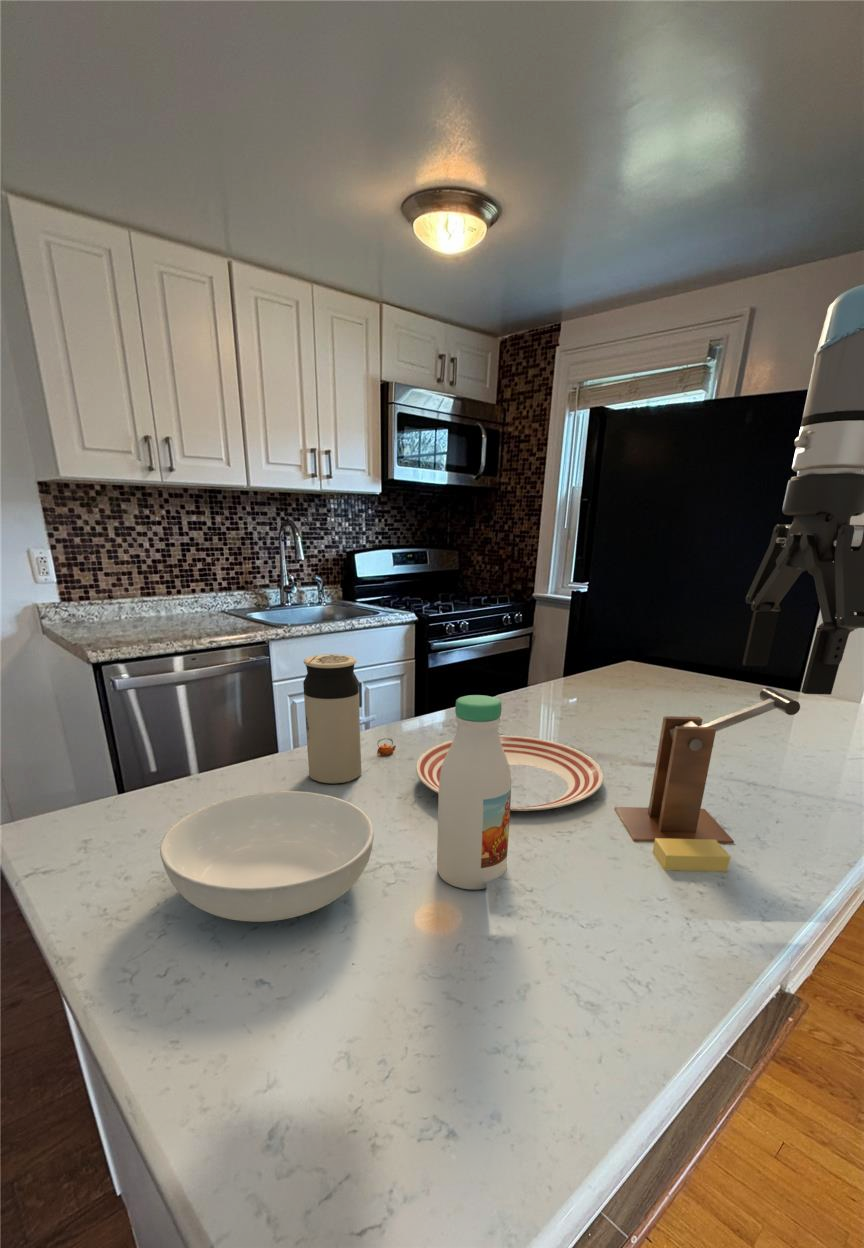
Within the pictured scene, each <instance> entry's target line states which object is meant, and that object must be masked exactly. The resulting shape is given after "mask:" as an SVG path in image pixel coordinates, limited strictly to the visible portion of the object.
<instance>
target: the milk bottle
mask: <svg viewBox="0 0 864 1248" xmlns="http://www.w3.org/2000/svg"><path fill="white" fill-rule="evenodd" d="M454 707H455V708H454V711H455V718H454V720H455V722H456V723H457V724H456V725H457V726H456V731H455V734H454V738H453V739H452V740H453V742H452V745H451V747H450V749H449V751H448V753H447V754H446V757H445V759H444V761H443V764H442V768H441V773H440V780H439V794H438V799H437V801H438V804H437V842H436V843H437V844H436V847H437V848H436V869H437V872H438V875H439V876H440V878H441V879H442V880H443V881H444V882H445V883H447V884H448V885H450V886H453V887H456V888H459V889H465V890H484V889H487V888H488V887H487V886H488V885H487V882H489V881H493V880H496V879H497V878H499V877H501V876H502V875H504V873H505V872H506V870H507V863H508V848H509V835H510V834H509V833H510V819H511V811H510V807H511V801H512V772H511V768H510V765H509V763H508V760H507V757H506V755H505V753H504V750H503V748H502V745H501V742H500V738H499V735H500V734H499V733H500V732H499V725H500V723H501V721H502V720H501V716H502V701H501V700H500V699H499V698H497V697H494V696H491V695H490V696H489V695H484V694H483V695H481V694H470V695H464V696H463V695H462V696H460V697H458V698H457V699H456V700H455V706H454Z"/></svg>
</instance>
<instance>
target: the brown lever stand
mask: <svg viewBox="0 0 864 1248" xmlns="http://www.w3.org/2000/svg"><path fill="white" fill-rule="evenodd" d="M691 721H692V722H693V723H695V724H696V725H697V726H701V725H703V718H701V717H700V716H672V715H671V716H670V715H669V716H668V715H664V716H663V717H662V723H661V730H660V736H659V742H658V748H657V756H656V761H655V767H654V771H653V773H654V774H653V779H652V785H651V792H650V798H649V803H648V804H649V805H648V807H641V806H640V807H637V806H614V808H613V809H614V811H615V813H616V815H617V816H618V818H619V819H620V822H622V824H623V826H624V828H625V830H626V831H627V833H628V835H629V836H630V838H631V840H632V841H633V842H641V843H643V842H645V843H646V842H647V843H649V842H650V843H654V842H655V838H665V839H711V840H716V841H717V842H718V843H719V844H734V843H735V840H734V839H733V838H732V837H731V836H730V835H729V833H727V832H726V831H725V829H724V828H723V827H722V826H721V825H720V824H719V823H718V822H717V821H716V819H715V818H714V817H713V816H712V815H711V814H710V813H709V812H708V811H707V810H706V809H705V808H702V804H703V798H704V793H705V788H706V784H707V779H708V773H709V767H710V763H711V759H712V753H713V748H714V742H715V738H716V733H717V731H716V729H715V728H713V727H682V726H681V725H684V724H686V723H689V722H691ZM673 728H675V731H674V736H673V740H672V737H671V734H670V730H671V729H673Z"/></svg>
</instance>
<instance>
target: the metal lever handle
mask: <svg viewBox="0 0 864 1248" xmlns="http://www.w3.org/2000/svg"><path fill="white" fill-rule="evenodd" d="M759 699H760V701H759V702H757V703H755V704H752V705H749V706H747V707H744V708H741V709H738V710H737V711H734V712H731V713H729V714H726V715H724V716H721V717H719V718H717V719H714V720H711V721H709V722H706V723H704V724H703V723H702V725H701V726H697V725H696V724H695V723H693V722H692V721H691V722H689V723H686V724H684V725H681V726H682V727H713V728H715V729H716V732H719V731H721V730H724V729H727V728H729V727H733V726H734V725H738V724H739V723H742V722H745V721H747V720H749V719H753V718H755V717H757V716H760V715H762V714H765V713H768V712H771V711H773V710H776V709H777V710H779V711H781V712H783V713H784V714H786V715H788V716H794V715H796V714H798V713H799V711H800V710H801V704H800V702H799V701H797V700H796V699H793V698H791V697H789V696H787V695H785V694H783V693H781V692H779V691H777V690H775V689H773V688H771V687H764V688H763V689H761V691H760V692H759ZM674 731H675V728H673V729H671V730H670V734H671V737H672V740H673V736H674Z"/></svg>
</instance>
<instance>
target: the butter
mask: <svg viewBox="0 0 864 1248" xmlns="http://www.w3.org/2000/svg"><path fill="white" fill-rule="evenodd" d="M652 853H653V856H654V857H655V858H656V861H658V863H659V865H660V866H661V868H662V869H663V871H689V872H691V871H692V872H693V871H695V872H728V870H729V866H730V862H731V856H730V854H729V853H728V852H727V851H726V850H725V848H724V847H723V846H722V845H721V843H718V842H717V841H716V840H711V839H665V838H655V842H653V847H652Z"/></svg>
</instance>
